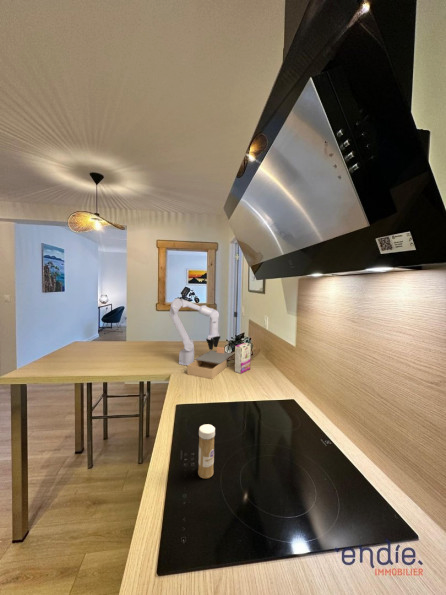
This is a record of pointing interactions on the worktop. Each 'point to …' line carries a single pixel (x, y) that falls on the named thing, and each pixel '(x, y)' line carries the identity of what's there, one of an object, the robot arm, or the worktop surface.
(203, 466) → the sprinkles bottle
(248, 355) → the candy bar box
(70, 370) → the worktop surface
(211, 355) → the carton lid
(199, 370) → the carton
